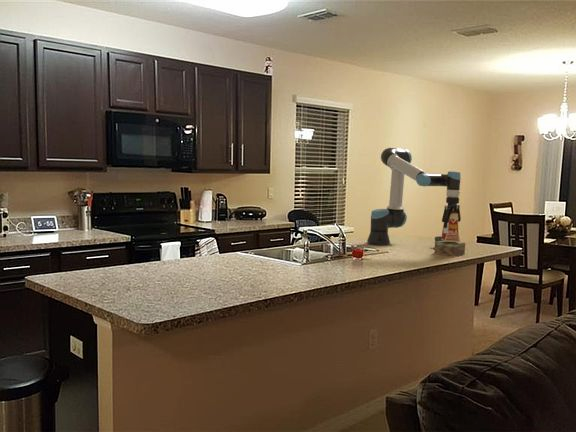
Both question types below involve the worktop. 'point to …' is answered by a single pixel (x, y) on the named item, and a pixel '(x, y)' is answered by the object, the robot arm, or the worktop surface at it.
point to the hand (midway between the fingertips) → (450, 232)
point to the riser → (450, 248)
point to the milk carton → (452, 229)
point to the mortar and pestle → (438, 239)
